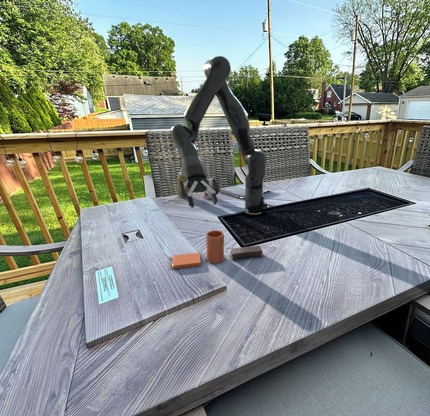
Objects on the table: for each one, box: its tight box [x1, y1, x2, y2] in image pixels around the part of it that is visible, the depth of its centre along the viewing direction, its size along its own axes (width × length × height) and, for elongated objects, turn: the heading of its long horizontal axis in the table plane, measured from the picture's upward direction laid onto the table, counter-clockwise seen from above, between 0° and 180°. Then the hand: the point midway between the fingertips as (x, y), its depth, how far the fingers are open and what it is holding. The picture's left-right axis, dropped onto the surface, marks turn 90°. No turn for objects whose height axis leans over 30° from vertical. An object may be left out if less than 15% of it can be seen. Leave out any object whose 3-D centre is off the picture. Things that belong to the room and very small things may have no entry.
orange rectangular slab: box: [172, 252, 202, 270], centre depth 91 cm, size 9×7×1 cm
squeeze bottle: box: [176, 166, 190, 198], centre depth 158 cm, size 8×8×18 cm
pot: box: [205, 229, 225, 265], centre depth 92 cm, size 6×6×10 cm
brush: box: [230, 245, 263, 261], centre depth 96 cm, size 11×4×3 cm, turn 108°
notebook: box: [219, 183, 245, 200], centre depth 177 cm, size 22×2×28 cm
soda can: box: [203, 177, 215, 200], centre depth 159 cm, size 7×7×12 cm
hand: (204, 205), depth 97 cm, fingers open, 8 cm apart
